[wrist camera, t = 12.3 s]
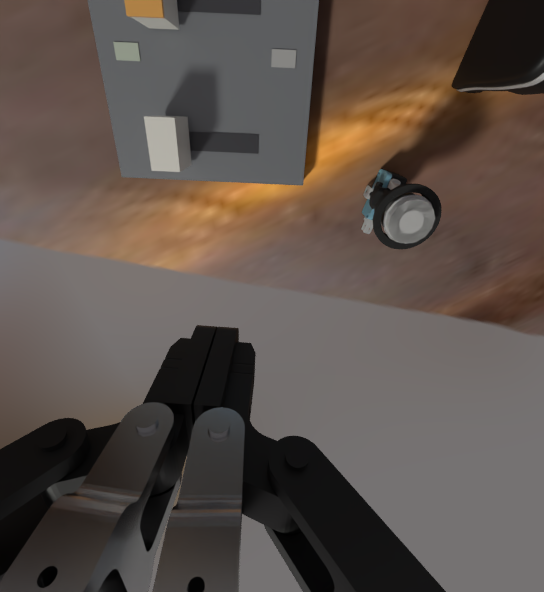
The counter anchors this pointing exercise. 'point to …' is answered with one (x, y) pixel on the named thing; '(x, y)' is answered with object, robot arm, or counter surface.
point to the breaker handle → (154, 13)
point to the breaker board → (210, 89)
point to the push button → (400, 211)
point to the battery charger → (505, 50)
